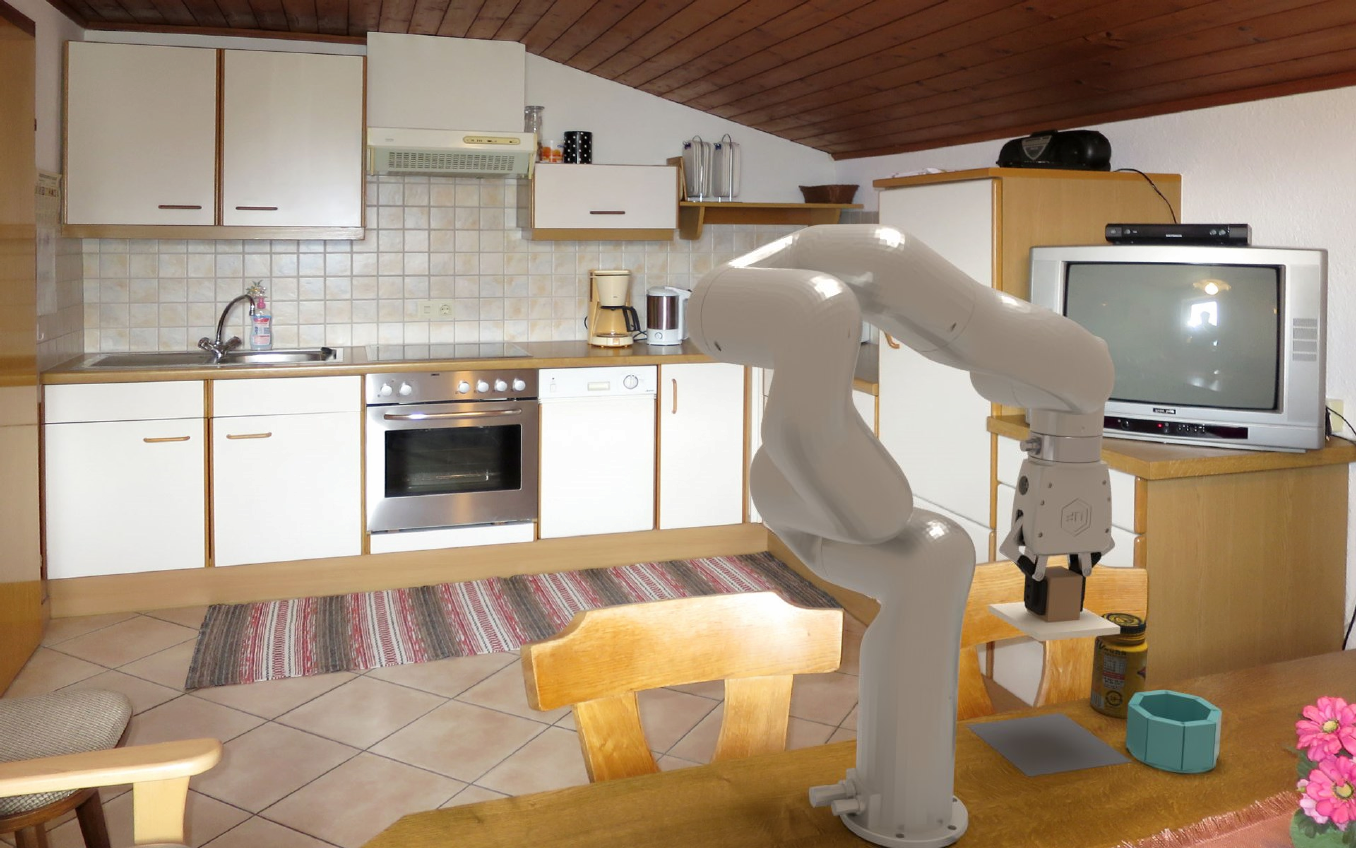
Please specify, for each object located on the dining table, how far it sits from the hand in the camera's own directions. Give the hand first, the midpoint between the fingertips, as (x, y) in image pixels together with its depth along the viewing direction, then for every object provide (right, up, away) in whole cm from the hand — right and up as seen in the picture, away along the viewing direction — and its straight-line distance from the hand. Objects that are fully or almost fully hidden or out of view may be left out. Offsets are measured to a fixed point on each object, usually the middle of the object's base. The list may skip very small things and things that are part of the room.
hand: (1053, 608), depth 123 cm
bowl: (+13, -17, 0) cm, 21 cm away
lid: (0, -2, 0) cm, 2 cm away
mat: (0, -16, +3) cm, 16 cm away
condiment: (+11, -15, +12) cm, 22 cm away
